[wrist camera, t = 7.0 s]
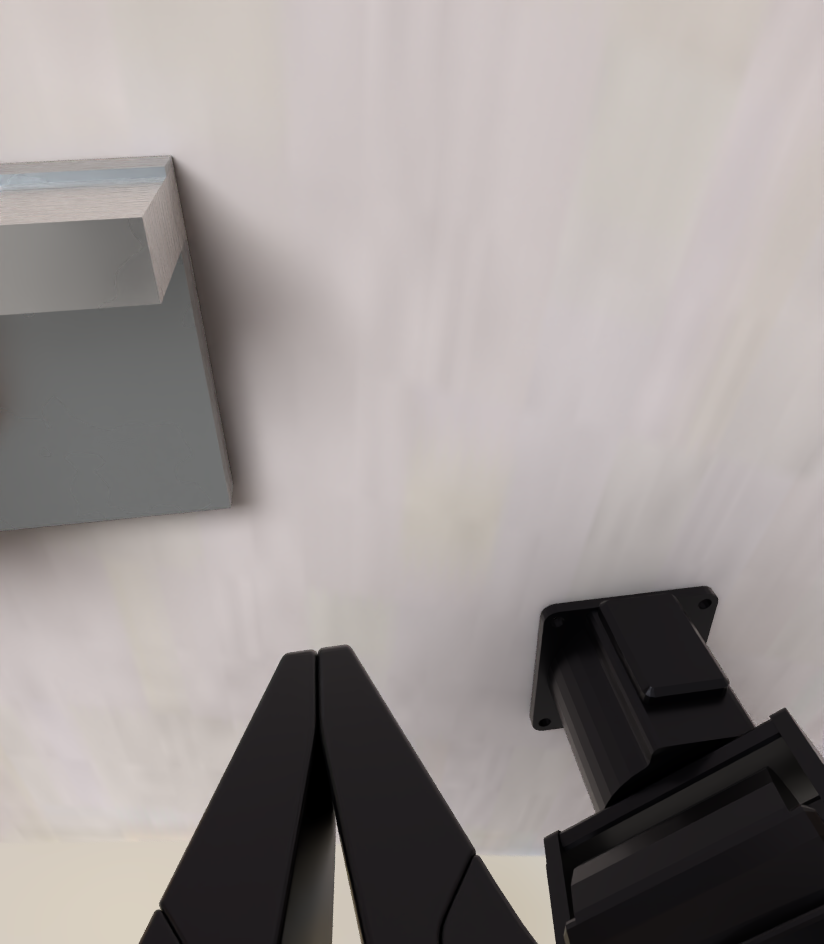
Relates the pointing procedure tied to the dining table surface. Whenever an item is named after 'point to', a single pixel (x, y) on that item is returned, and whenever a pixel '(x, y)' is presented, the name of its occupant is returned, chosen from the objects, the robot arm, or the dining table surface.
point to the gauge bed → (102, 349)
